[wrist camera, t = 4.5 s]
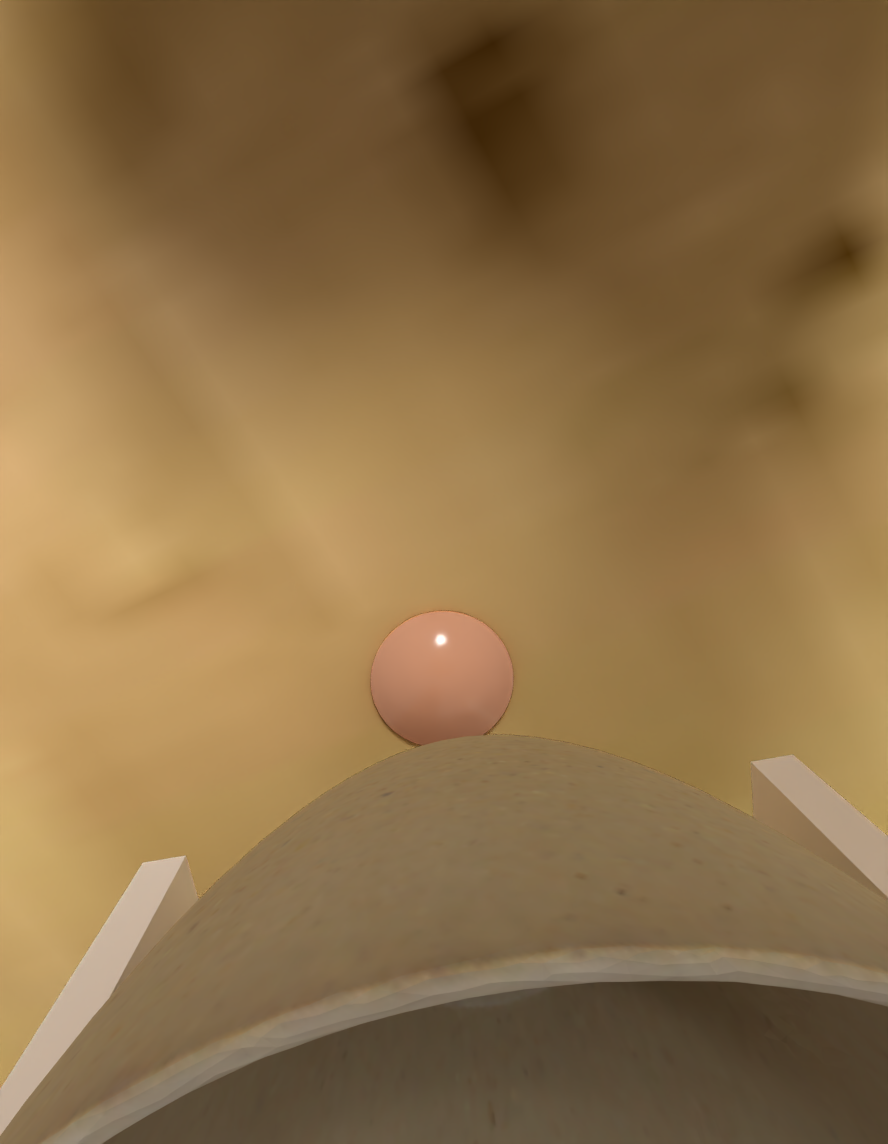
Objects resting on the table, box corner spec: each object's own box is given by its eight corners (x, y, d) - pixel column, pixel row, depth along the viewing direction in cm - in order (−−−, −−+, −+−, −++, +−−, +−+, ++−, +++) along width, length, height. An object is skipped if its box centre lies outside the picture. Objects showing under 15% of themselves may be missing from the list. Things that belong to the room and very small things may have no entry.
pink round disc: (359, 623, 22) (358, 625, 22) (502, 599, 22) (503, 601, 22) (384, 755, 23) (384, 758, 22) (521, 732, 23) (522, 735, 23)
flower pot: (323, 1150, 13) (206, 2048, 6) (97, 715, 10) (-563, 1303, 3) (805, 996, 12) (1321, 1752, 5) (677, 512, 10) (1274, 704, 3)
